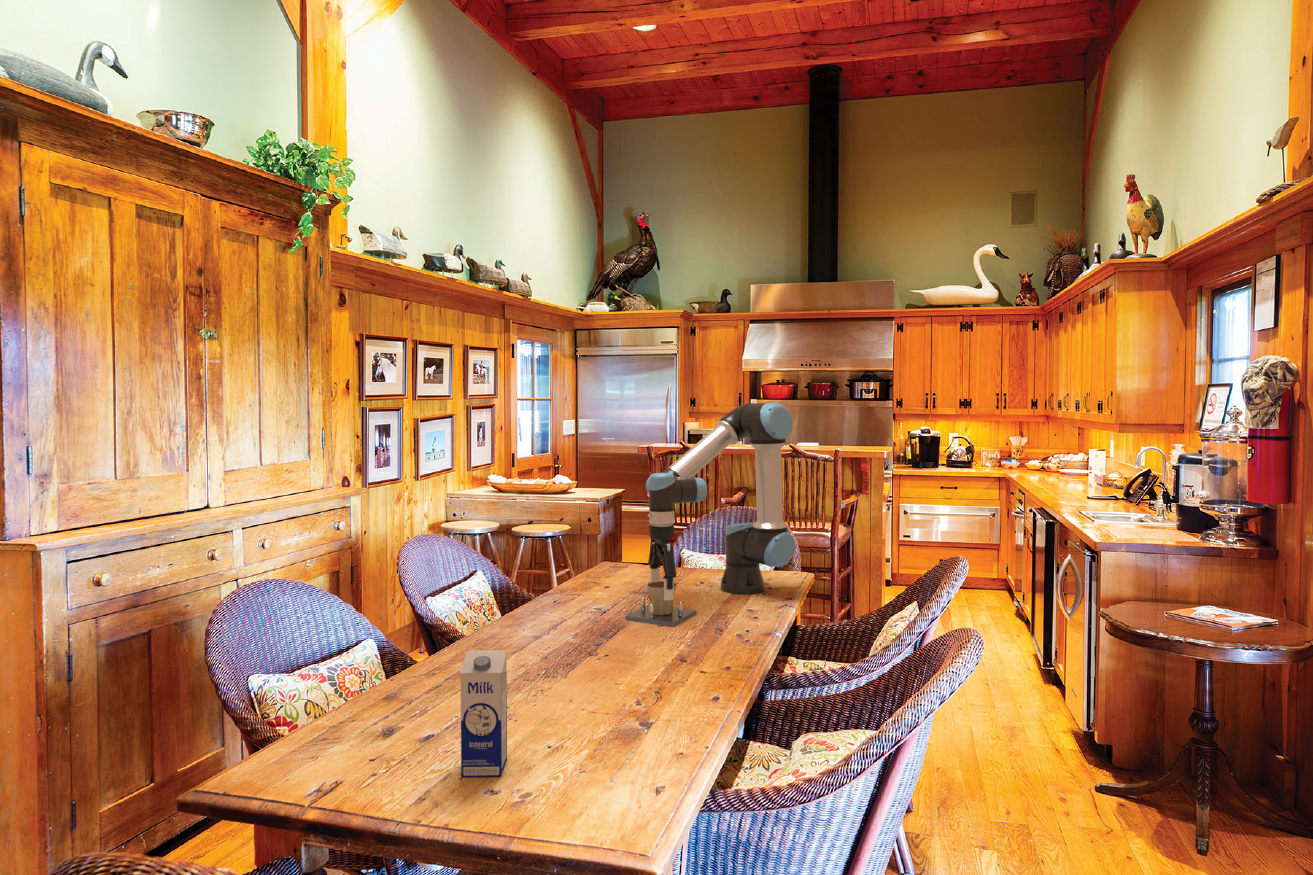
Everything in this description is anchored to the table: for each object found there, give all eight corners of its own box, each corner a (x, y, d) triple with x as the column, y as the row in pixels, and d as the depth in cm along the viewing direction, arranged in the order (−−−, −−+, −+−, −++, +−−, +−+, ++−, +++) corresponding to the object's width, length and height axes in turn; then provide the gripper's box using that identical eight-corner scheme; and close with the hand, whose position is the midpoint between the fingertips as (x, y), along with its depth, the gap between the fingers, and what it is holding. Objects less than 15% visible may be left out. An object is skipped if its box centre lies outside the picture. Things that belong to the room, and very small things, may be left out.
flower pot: (677, 617, 234) (677, 588, 234) (645, 617, 235) (645, 588, 234) (677, 609, 244) (677, 581, 243) (646, 608, 244) (646, 581, 244)
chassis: (650, 607, 250) (650, 591, 250) (696, 614, 243) (696, 597, 242) (625, 619, 236) (625, 602, 236) (673, 626, 228) (673, 608, 228)
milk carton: (508, 759, 142) (507, 648, 141) (502, 776, 135) (501, 660, 134) (468, 759, 142) (467, 649, 141) (460, 777, 135) (459, 661, 134)
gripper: (638, 519, 249) (638, 586, 250) (662, 531, 225) (662, 605, 226) (660, 518, 251) (661, 585, 252) (687, 530, 227) (687, 603, 228)
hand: (661, 594), depth 239 cm, fingers open, 13 cm apart
